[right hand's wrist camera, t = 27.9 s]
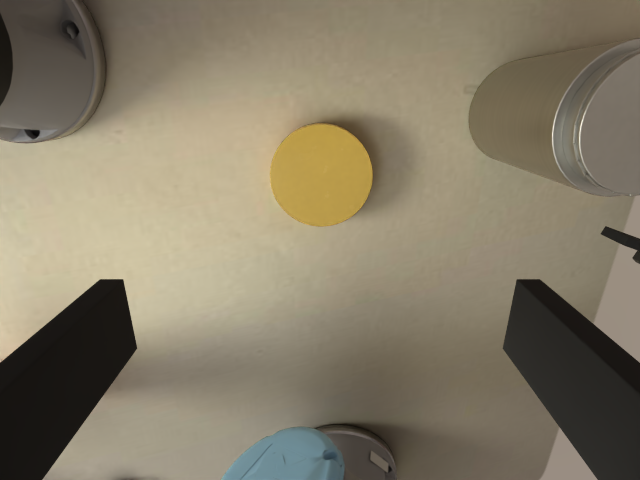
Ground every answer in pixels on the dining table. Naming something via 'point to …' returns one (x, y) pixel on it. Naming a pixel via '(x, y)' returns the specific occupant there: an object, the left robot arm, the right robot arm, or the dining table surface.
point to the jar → (566, 117)
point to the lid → (321, 174)
